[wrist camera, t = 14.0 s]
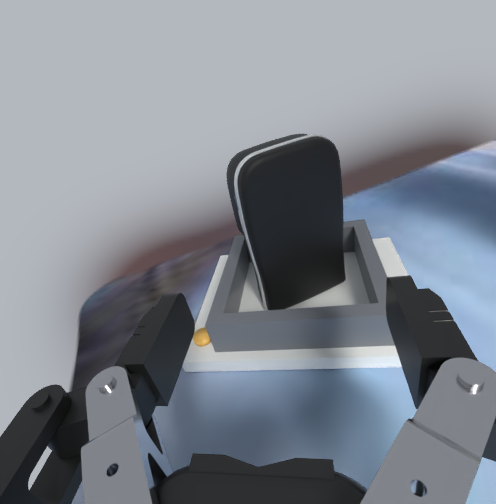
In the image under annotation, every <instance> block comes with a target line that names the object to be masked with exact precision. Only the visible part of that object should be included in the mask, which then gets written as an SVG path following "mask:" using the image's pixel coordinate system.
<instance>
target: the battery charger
mask: <svg viewBox="0 0 496 504" xmlns="http://www.w3.org/2000/svg"><path fill="white" fill-rule="evenodd" d="M227 184H228V189H229V194H230V198H231V203H232V207H233V211H234V215H235V219H236V223H237V226H238V229H239V230H240V232H241V233H242V234H243V235H244V238H245V242H246V245H247V248H248V252H249V255H250V258H251V261H252V264H253V267H254V271H255V275H256V279H257V285H258V290H259V294H260V298H261V301H262V302H263V304H264V307H265V308H266V310H281V309H287V308H289V307H292V306H294V305H296V304H298V303H301V302H303V301H305V300H308V299H310V298H312V297H314V296H316V295H318V294H320V293H323V292H325V291H327V290H329V289H331V288H333V287H335V286H337V285H339V284H341V283H342V282H344V281H345V280H346V276H345V265H344V248H343V195H342V181H341V168H340V160H339V155H338V151H337V149H336V147H335V145H334V144H333V143H332V142H331V141H330V140H329V139H328V138H326V137H324V136H321V135H316V134H314V135H313V134H312V135H307V134H295V135H290V136H287V137H283V138H279V139H276V140H272V141H269V142H266V143H263V144H260V145H257V146H254V147H252V148H249V149H246V150H243V151H241V152H239V153H237V154H236V155H235V156H234V157H233V158H232V159H231V161H230V163H229V165H228V169H227Z"/></svg>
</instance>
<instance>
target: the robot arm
mask: <svg viewBox="0 0 496 504" xmlns="http://www.w3.org/2000/svg"><path fill="white" fill-rule="evenodd" d="M386 317H387V322H388V326H389V329H390V332H391V335H392V338H393V341H394V344H395V347H396V350H397V353H398V356H399V359H400V362H401V365H402V368H403V371H404V374H405V377H406V380H407V383H408V386H409V389H410V392H411V395H412V398H413V401H414V404H415V407H416V409H418V410H417V412H416V414H415V415H414V417H413V418H412V419H408V420H407V421H406V422H405V423H404V425H403V427H402V428H401V430H400V432H399V434H398V436H397V437H396V439H395V441H394V443H393V445H392V447H391V448H390V450H389V452H388V454H387V456H386V458H385V459H384V461H383V463H382V465H381V467H380V468H379V470H378V472H377V474H376V476H375V478H374V479H373V481H372V483H371V485H370V487H369V489H368V490H367V489H366V488H365V487H363V486H362V485H361V484H359V483H358V482H356V481H355V480H353V479H351V478H349V477H347V476H345V475H343V474H341V473H338V472H335V471H334V465H333V460H330V459H307V458H294V459H290V460H286V461H281V462H277V463H273V464H269V465H265V466H261V467H257V466H253V465H251V464H248V463H245V462H243V461H240V460H237V459H234V458H232V457H229V456H226V455H215V454H193V455H192V459H191V463H190V465H189V466H186V467H184V468H181V469H179V470H177V471H175V472H173V470H172V468H171V466H170V464H169V461H168V459H167V455H166V452H165V449H164V445H163V442H162V439H161V436H160V432H159V429H158V426H157V422H156V419H155V417H154V415H153V412H154V409H155V407H156V406H168V403H169V400H170V398H171V395H172V392H173V390H174V387H175V384H176V381H177V379H178V376H179V373H180V371H181V368H182V365H183V362H184V360H185V357H186V354H187V352H188V349H189V346H190V344H191V341H192V338H193V335H194V331H195V323H194V319H193V317H192V314H191V312H190V309H189V307H188V304H187V302H186V299H185V297H184V295H183V294H182V293H178V294H166V295H163V296H162V297H161V299H160V301H159V303H158V305H157V306H156V307H153V308H152V309H151V310H150V311H149V312H148V313H147V314H145V315H144V316H143V318H142V320H141V321H140V323H139V325H138V328H136V330H135V332H134V333H133V337H131V338H130V340H129V342H128V344H127V345H126V347H125V349H124V350H123V352H122V354H121V355H120V357H119V359H118V361H117V362H116V364H115V366H114V367H110V368H107V369H105V370H103V371H102V372H100V373H99V374H97V375H96V376H95V377H94V378H93V379H92V380H91V382H90V383H89V385H88V386H87V387H84V388H81V389H78V390H75V391H72V392H68V393H66V392H65V391H64V389H63V388H62V387H61V386H60V385H50V386H47V387H45V388H43V389H41V390H39V391H38V392H36V393H35V394H34V395H33V396H31V397H30V398H29V399H28V400H27V401H26V403H25V404H24V405H23V407H22V408H21V410H20V411H19V412H18V413H17V415H16V416H15V418H14V419H13V420H12V422H11V423H10V425H9V426H8V427H7V429H6V430H5V431H4V433H3V434H2V435H1V437H0V504H71V503H72V501H73V499H74V496H75V494H76V492H77V490H78V488H79V485H80V483H81V481H82V482H83V499H84V504H466V501H467V498H468V495H469V493H470V490H471V487H472V484H473V481H474V478H475V475H476V473H477V470H478V467H479V464H480V461H481V458H482V457H484V458H487V459H490V460H493V461H496V372H495V371H493V370H492V369H491V368H490V367H488V366H486V365H485V364H483V363H481V362H479V361H478V360H477V358H476V357H475V355H474V353H473V352H472V350H471V348H470V347H469V345H468V343H467V341H466V340H465V338H464V336H463V335H462V333H461V331H460V329H459V328H458V326H457V324H456V323H455V322H454V320H453V317H452V316H451V314H450V312H448V309H447V307H446V305H445V304H444V302H443V300H442V299H441V297H439V296H438V295H437V294H435V293H434V292H433V291H431V290H430V289H429V288H428V289H417V287H416V285H415V283H414V281H413V279H412V277H411V276H410V275H408V276H395V277H387V281H386ZM47 446H48V447H49V448H50V449H51V450H52V452H51V454H50V455H49V457H48V459H47V461H46V463H45V464H44V466H43V468H42V470H41V471H40V473H39V475H38V476H37V478H36V480H35V482H34V484H33V485H32V487H31V489H30V491H29V489H28V481H29V477H30V474H31V473H32V471H33V469H34V468H35V466H36V464H37V462H38V461H39V459H40V457H41V456H42V454H43V452H44V450H45V449H46V447H47Z"/></svg>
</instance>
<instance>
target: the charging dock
mask: <svg viewBox="0 0 496 504" xmlns="http://www.w3.org/2000/svg"><path fill="white" fill-rule="evenodd" d="M343 248H344V265H345V276H346V280H345V281H344V282H342V283H341V284H339V285H337V286H335V287H333V288H331V289H329V290H327V291H325V292H323V293H320V294H318V295H316V296H314V297H312V298H310V299H308V300H305V301H303V302H301V303H298V304H296V305H294V306H292V307H289V308H287V309H281V310H266V308H265V307H264V304H263V302H262V301H261V298H260V294H259V290H258V285H257V279H256V275H255V271H254V267H253V264H252V261H251V258H250V255H249V252H248V248H247V245H246V242H245V238H244V235H235V237H234V240H233V243H232V246H231V249H230V252H229V255H223V256H220V259H219V262H218V264H217V267H216V270H215V272H214V275H213V278H212V280H211V283H210V286H209V288H208V291H207V294H206V296H205V299H204V302H203V305H202V307H201V310H200V313H199V315H198V318H197V321H196V323H195V331H194V335H193V338H192V341H191V344H190V346H189V349H188V352H187V354H186V357H185V360H184V362H183V365H182V366H183V368H184V370H185V372H216V371H260V370H304V369H347V368H391V367H402V365H401V362H400V359H399V356H398V353H397V350H396V347H395V344H394V341H393V338H392V335H391V332H390V329H389V326H388V322H387V317H386V281H387V277H395V276H408V273H407V271H406V269H405V267H404V265H403V263H402V261H401V259H400V257H399V255H398V253H397V251H396V249H395V247H394V245H393V243H392V241H391V239H390V237H387V238H378V239H372V238H371V235H370V233H369V230H368V228H367V225H366V223H365V220H356V221H348V222H343Z"/></svg>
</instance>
